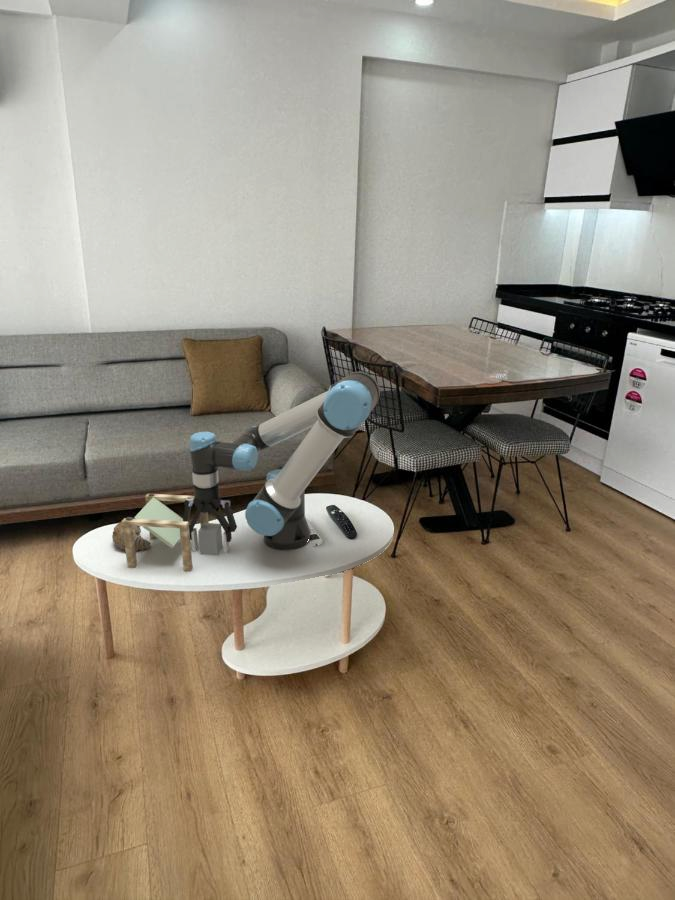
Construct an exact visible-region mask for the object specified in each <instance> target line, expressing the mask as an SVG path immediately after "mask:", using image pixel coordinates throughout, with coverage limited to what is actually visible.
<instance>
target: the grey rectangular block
mask: <svg viewBox="0 0 675 900" xmlns="http://www.w3.org/2000/svg"><path fill="white" fill-rule="evenodd" d="M197 536H198V547H199V555H204V556H207V555H208V556H218V555H219V554H220V552H221V550H222V548H224V543H223V531H222V526H221V524H220V523H214V522H211V523H210V522H209V523H203V525H202V526H201V525H200V527H199V530H197Z"/></svg>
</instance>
